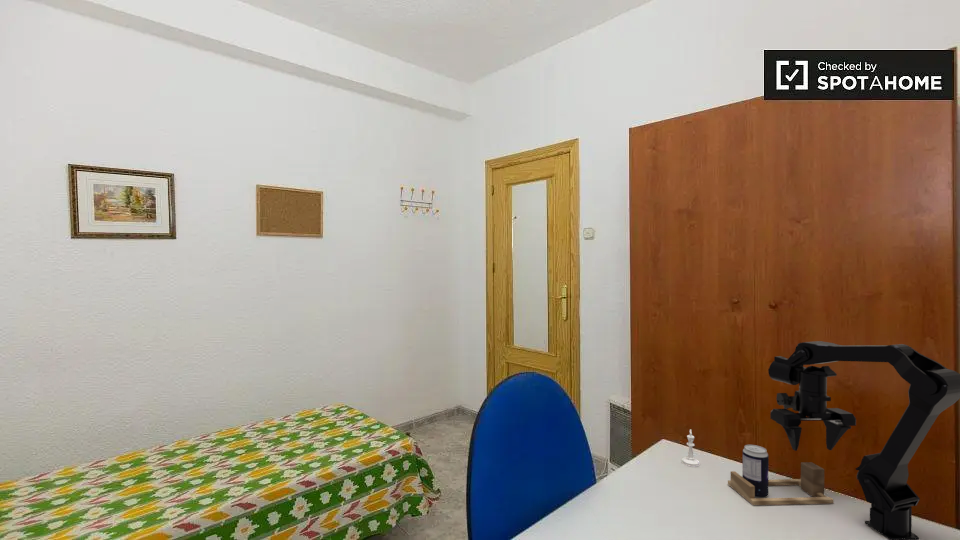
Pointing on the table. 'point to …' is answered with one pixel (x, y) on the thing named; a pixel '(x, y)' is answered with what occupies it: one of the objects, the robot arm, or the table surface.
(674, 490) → the table surface
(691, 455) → the chess piece
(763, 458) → the beverage can
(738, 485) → the wooden frame
